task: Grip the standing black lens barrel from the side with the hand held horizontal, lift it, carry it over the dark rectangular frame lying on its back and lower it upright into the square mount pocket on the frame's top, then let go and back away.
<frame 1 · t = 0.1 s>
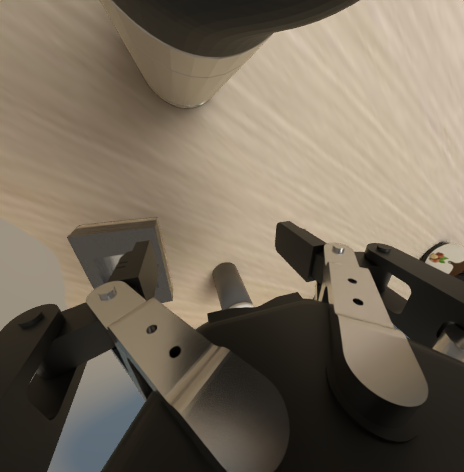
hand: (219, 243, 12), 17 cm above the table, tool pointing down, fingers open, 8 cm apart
spread jar: (428, 259, 54), on the table
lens: (224, 272, 36), on the table
dark rectangular frame: (133, 260, 29), on the table
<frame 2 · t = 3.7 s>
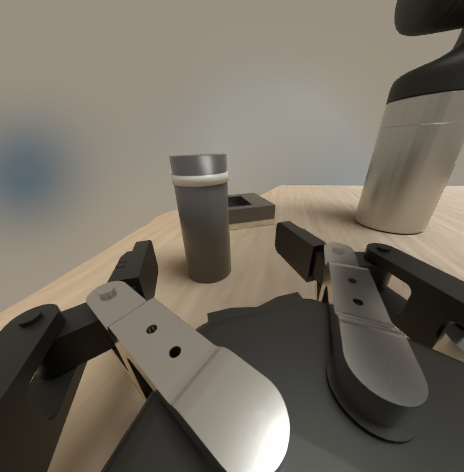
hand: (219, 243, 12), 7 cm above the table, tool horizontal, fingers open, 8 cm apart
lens: (210, 269, 21), on the table
dark rectangular frame: (228, 219, 35), on the table
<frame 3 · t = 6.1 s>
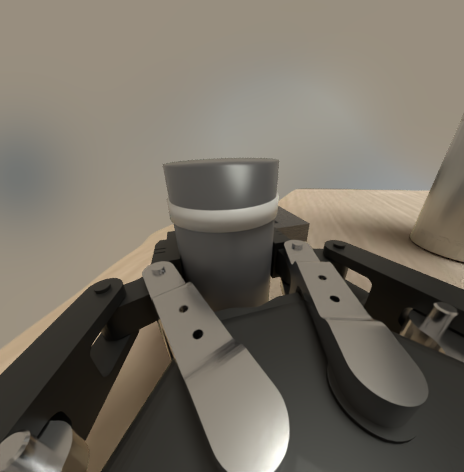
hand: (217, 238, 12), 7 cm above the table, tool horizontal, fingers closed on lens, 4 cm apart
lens: (231, 341, 13), on the table, touching gripper
dark rectangular frame: (244, 239, 27), on the table
when the fingers open (9 cm above the table, at t = 11.0 s): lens stays where it is, resting on dark rectangular frame.
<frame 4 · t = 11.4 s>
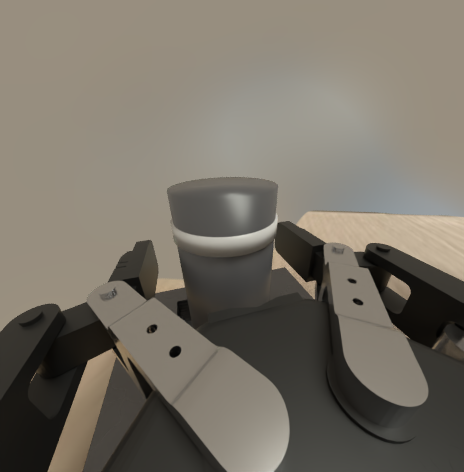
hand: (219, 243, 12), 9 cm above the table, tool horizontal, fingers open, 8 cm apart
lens: (231, 351, 13), point 1 cm above the table, touching dark rectangular frame
dark rectangular frame: (231, 358, 14), on the table
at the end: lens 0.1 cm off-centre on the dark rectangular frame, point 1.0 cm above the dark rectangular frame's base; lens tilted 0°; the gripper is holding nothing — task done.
